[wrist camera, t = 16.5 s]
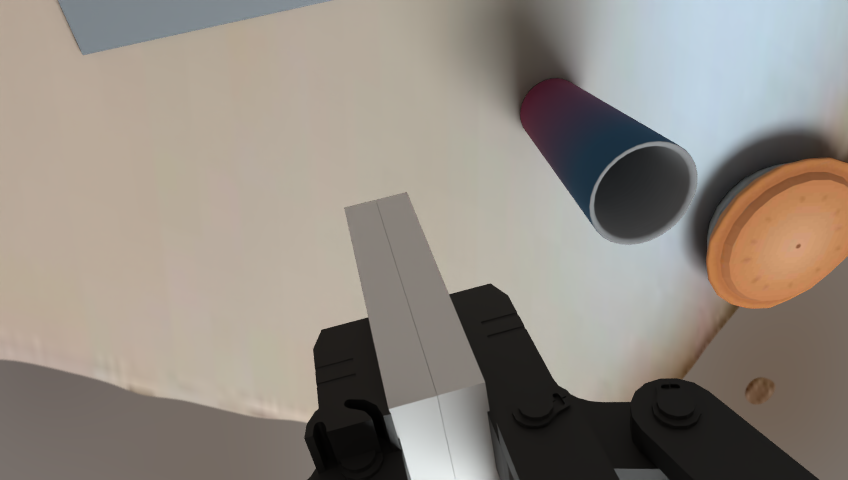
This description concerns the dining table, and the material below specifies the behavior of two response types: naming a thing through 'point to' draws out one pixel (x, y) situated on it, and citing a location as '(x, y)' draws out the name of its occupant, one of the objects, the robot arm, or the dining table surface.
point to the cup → (610, 162)
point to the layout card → (157, 18)
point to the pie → (779, 232)
